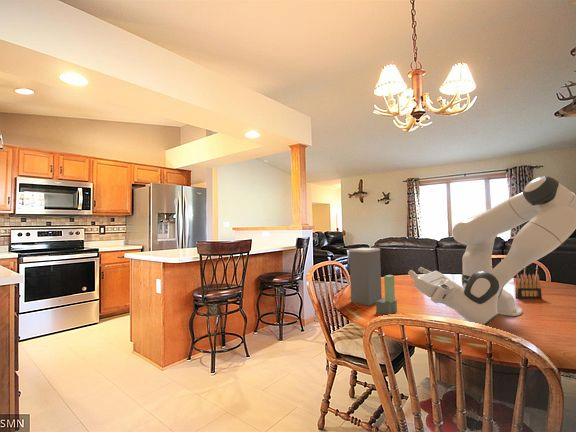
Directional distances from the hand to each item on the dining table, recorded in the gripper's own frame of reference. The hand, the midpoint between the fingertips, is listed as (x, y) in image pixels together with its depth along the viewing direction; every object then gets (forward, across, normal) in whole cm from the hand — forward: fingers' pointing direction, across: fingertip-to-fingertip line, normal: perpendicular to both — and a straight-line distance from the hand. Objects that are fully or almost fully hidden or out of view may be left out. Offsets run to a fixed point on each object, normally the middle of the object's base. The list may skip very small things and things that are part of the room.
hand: (414, 269), depth 119 cm
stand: (+15, -10, +31) cm, 36 cm away
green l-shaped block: (+3, 0, +15) cm, 15 cm away
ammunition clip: (-34, -65, +3) cm, 73 cm away
